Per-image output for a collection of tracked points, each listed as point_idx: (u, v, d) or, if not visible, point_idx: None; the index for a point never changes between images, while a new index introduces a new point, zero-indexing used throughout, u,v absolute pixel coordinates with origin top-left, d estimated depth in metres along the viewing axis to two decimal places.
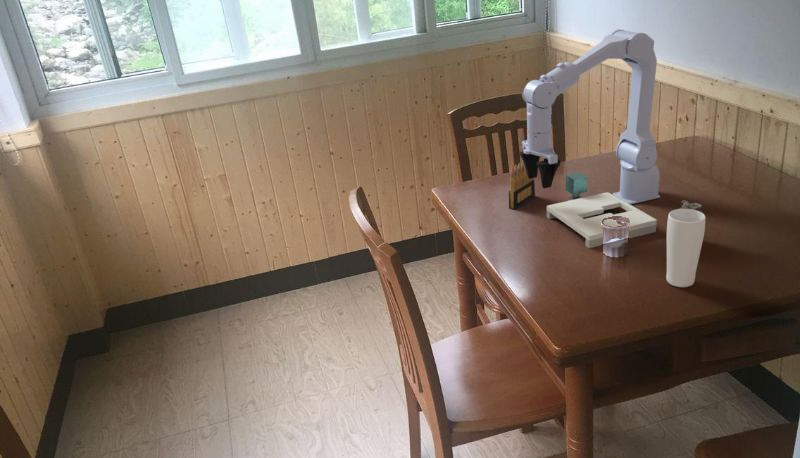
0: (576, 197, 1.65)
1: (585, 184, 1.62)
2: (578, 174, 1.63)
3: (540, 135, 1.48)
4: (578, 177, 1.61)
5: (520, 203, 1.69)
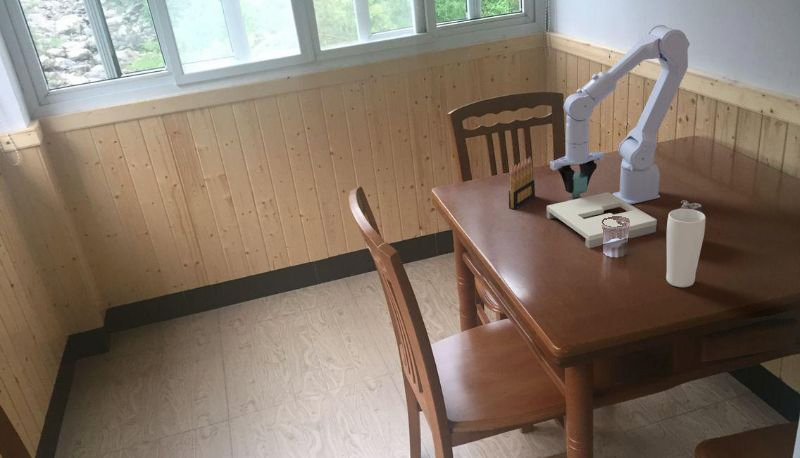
0: (576, 197, 1.65)
1: (585, 184, 1.62)
2: (578, 174, 1.63)
3: (566, 143, 1.59)
4: (578, 177, 1.61)
5: (520, 203, 1.69)
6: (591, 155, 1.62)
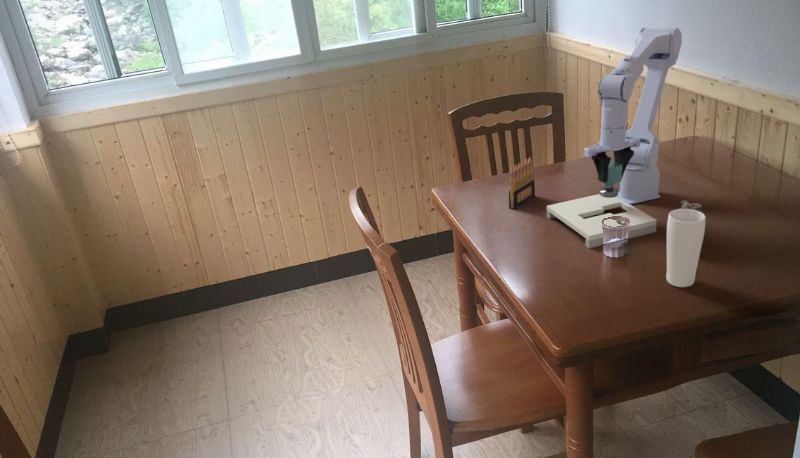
0: (609, 187, 1.52)
1: (620, 173, 1.50)
2: (612, 163, 1.51)
3: (601, 128, 1.47)
4: (612, 166, 1.49)
5: (520, 203, 1.69)
6: (627, 141, 1.49)
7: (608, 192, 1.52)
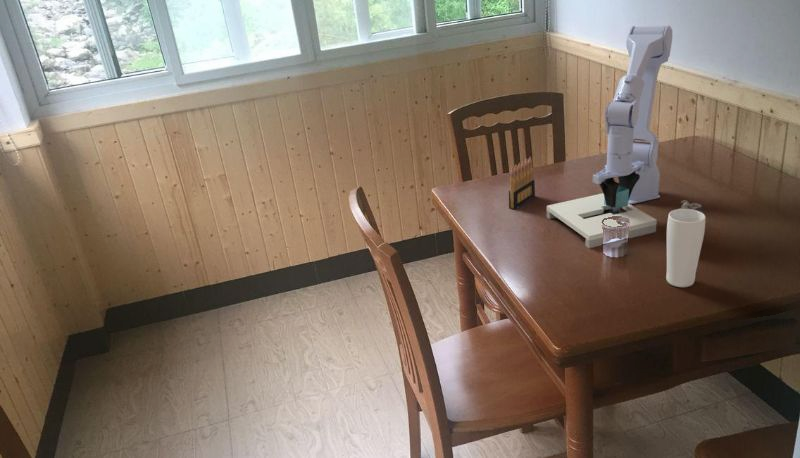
0: (616, 211, 1.53)
1: (626, 197, 1.51)
2: None
3: (608, 154, 1.47)
4: (620, 190, 1.50)
5: (520, 203, 1.69)
6: (632, 165, 1.50)
7: None
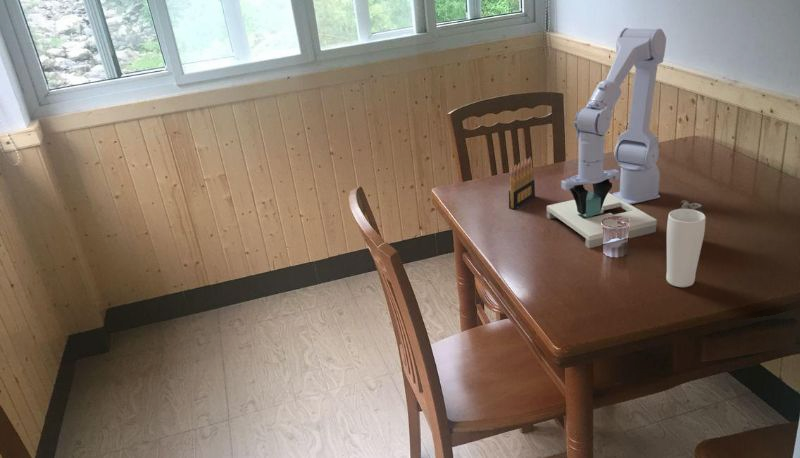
0: None
1: (598, 205, 1.49)
2: (590, 194, 1.50)
3: (578, 161, 1.46)
4: (591, 198, 1.48)
5: (520, 203, 1.69)
6: (606, 173, 1.48)
7: None
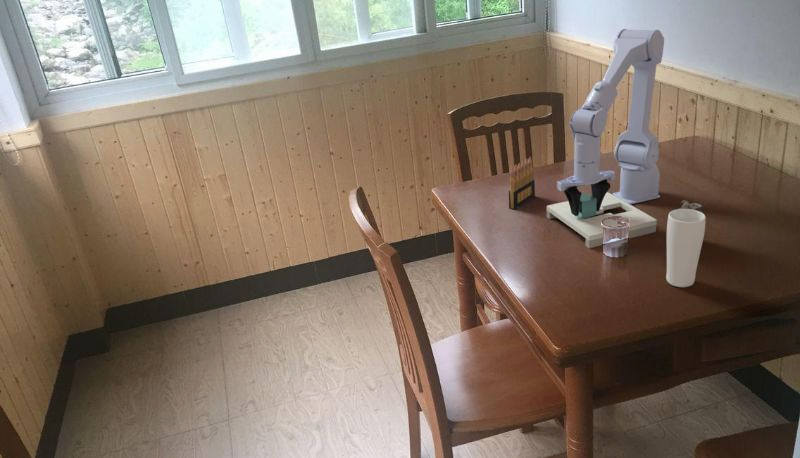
0: None
1: (594, 206, 1.49)
2: (586, 196, 1.50)
3: (574, 162, 1.46)
4: (586, 199, 1.48)
5: (520, 203, 1.69)
6: (602, 174, 1.48)
7: None
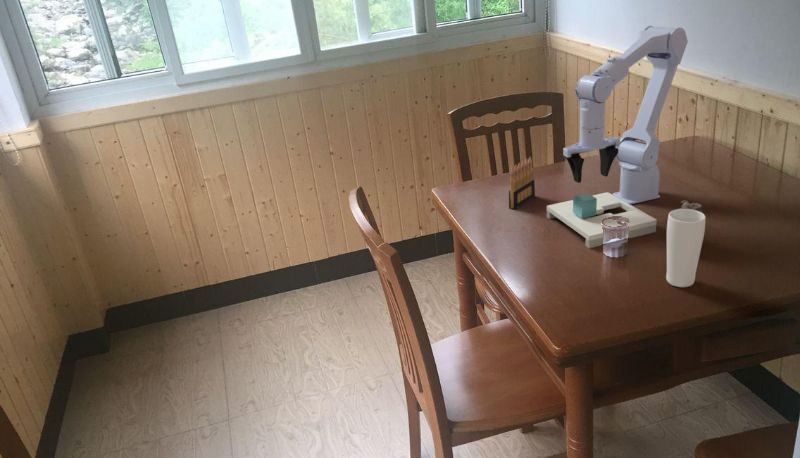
0: None
1: (594, 206, 1.49)
2: (586, 196, 1.50)
3: (580, 128, 1.49)
4: (586, 199, 1.48)
5: (520, 203, 1.69)
6: (607, 141, 1.51)
7: None
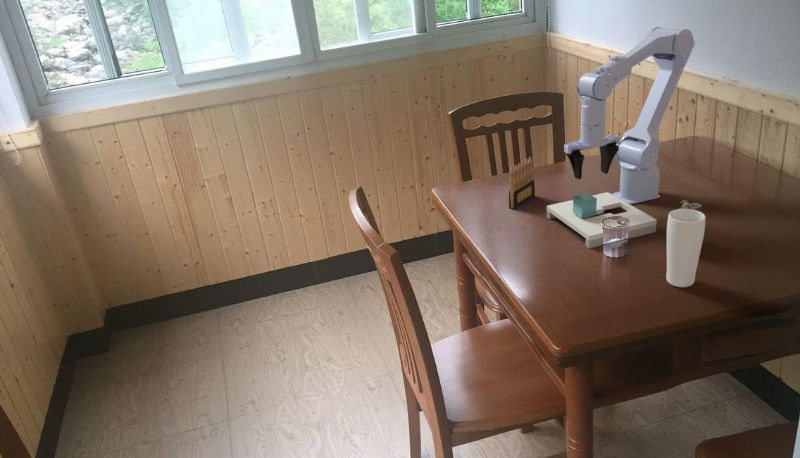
0: None
1: (594, 206, 1.49)
2: (586, 196, 1.50)
3: (581, 125, 1.51)
4: (586, 200, 1.48)
5: (520, 203, 1.69)
6: (607, 138, 1.53)
7: None
